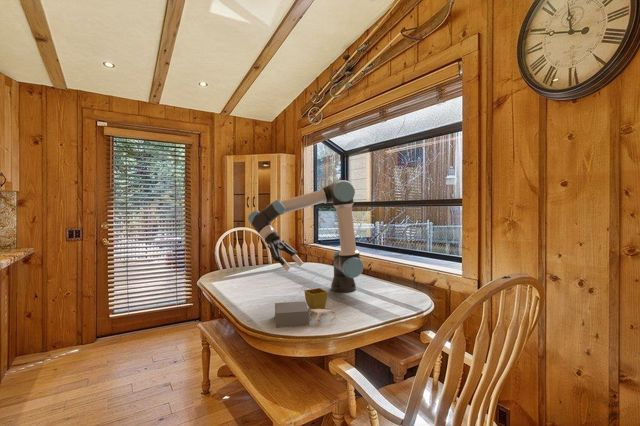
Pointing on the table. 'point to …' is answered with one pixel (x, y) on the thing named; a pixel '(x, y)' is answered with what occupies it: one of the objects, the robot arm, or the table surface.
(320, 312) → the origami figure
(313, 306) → the flower pot
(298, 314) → the base block
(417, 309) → the table surface
